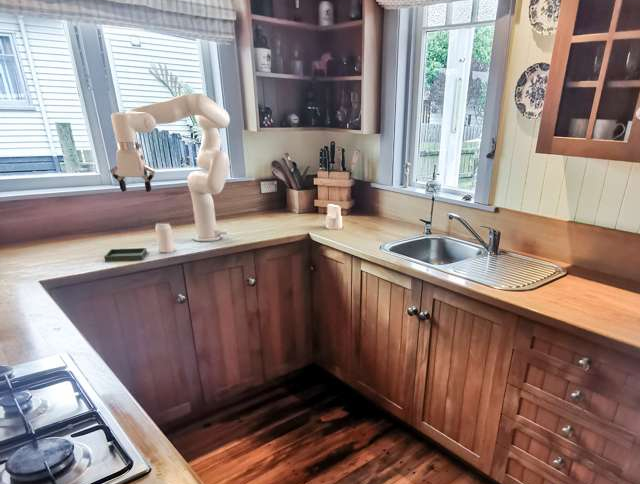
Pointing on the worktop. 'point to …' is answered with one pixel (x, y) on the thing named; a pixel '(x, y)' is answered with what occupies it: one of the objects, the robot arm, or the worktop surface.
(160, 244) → the can
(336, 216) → the cylinder with rectangular tab
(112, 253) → the tray
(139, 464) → the worktop surface
